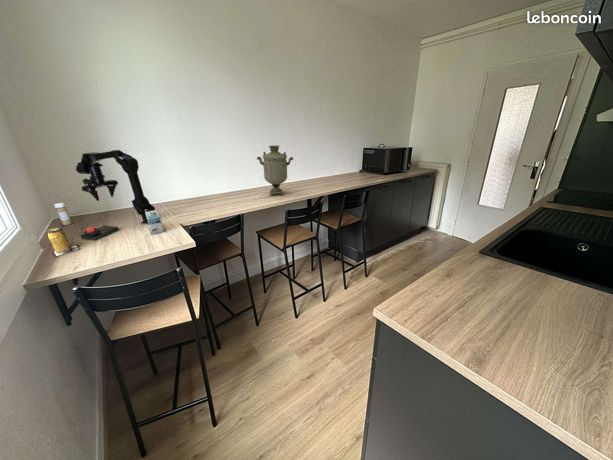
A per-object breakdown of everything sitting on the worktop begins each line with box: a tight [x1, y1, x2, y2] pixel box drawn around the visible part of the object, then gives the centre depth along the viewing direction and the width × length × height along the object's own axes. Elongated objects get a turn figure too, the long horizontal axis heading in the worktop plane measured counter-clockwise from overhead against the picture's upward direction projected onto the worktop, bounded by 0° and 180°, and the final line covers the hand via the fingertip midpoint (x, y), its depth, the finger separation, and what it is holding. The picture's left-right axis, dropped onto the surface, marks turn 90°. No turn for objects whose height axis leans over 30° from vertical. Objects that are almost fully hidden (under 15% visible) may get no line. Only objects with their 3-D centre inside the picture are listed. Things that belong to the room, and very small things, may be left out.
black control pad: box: [79, 225, 120, 241], centre depth 142 cm, size 10×14×4 cm
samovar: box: [256, 144, 294, 197], centre depth 213 cm, size 30×26×40 cm
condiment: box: [47, 227, 79, 257], centre depth 123 cm, size 7×8×12 cm
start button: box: [85, 226, 97, 233], centre depth 138 cm, size 4×4×2 cm
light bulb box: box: [145, 209, 165, 235], centre depth 146 cm, size 11×7×11 cm, turn 35°
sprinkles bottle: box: [53, 202, 73, 226], centre depth 155 cm, size 5×5×13 cm
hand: (105, 198), depth 159 cm, fingers open, 9 cm apart
